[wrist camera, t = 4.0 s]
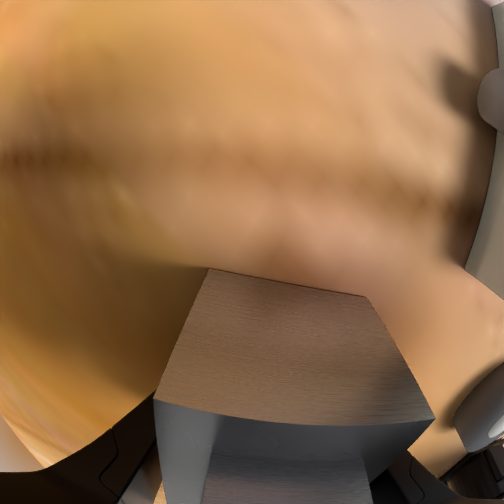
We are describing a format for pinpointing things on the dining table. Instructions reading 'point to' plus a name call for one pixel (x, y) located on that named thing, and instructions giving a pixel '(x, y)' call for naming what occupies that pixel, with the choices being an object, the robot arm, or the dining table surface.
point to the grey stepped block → (282, 397)
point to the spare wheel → (482, 412)
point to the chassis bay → (492, 176)
